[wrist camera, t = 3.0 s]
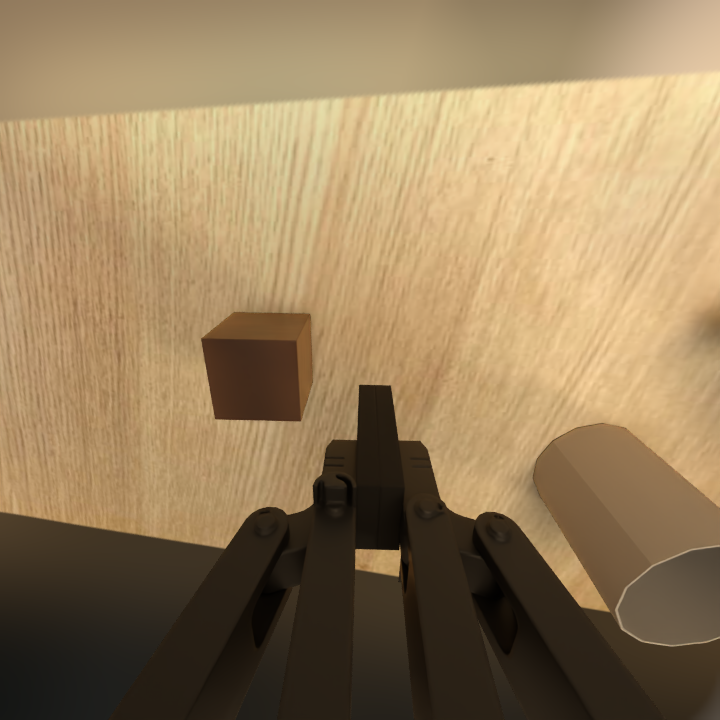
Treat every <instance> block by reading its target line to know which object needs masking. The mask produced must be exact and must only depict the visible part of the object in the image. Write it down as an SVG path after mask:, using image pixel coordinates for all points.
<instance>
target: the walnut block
mask: <svg viewBox="0 0 720 720" xmlns="http://www.w3.org/2000/svg"><path fill="white" fill-rule="evenodd" d="M201 341H202V347H203V352H204V358H205V364H206V369H207V375H208V381H209V386H210V392H211V398H212V404H213V409H214V415H215V419H224V420H266V421H301V420H302V416H303V413H304V410H305V406H306V403H307V400H308V396H309V393H310V390H311V386H312V383H313V371H312V345H311V320H310V314H289V313H245V312H234V313H233V314H231V315H230V316H229V317H228V318H226V319H225V320H224V321H223V322H221V323H220V324H219V325H218V326H216V327H215V328H214V329H213V330H211V331H210V332H209V333H208V334H206V335H205V336H204V337H203V338H201Z"/></svg>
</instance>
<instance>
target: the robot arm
mask: <svg viewBox="0 0 720 720" xmlns="http://www.w3.org/2000/svg"><path fill="white" fill-rule="evenodd" d="M313 499H314V504H313V505H312V506H310V507H309V508H307V509H306V510H304V511H301V512H298V513H294V514H290V515H287V514H286V513H285V512H284V511H283V510H281V509H279V508H276V507H266V508H262V509H259V510H257V511H255V512H253V513H252V514H251V515H250V516H249V517H248V518H247V519H246V520H245V521H244V523H243V524H242V526H241V527H240V529H239V530H238V532H237V533H236V535H235V536H234V537H233V539H232V540H231V542H230V543H229V545H228V546H227V548H226V549H225V551H224V552H223V554H222V555H221V556H220V558H219V559H218V561H217V562H216V564H215V565H214V567H213V568H212V569H211V571H210V573H209V574H208V575H207V577H206V578H205V580H204V581H203V583H202V584H201V586H200V587H199V588H198V590H197V591H196V593H195V594H194V596H193V597H192V599H191V600H190V602H189V603H188V605H187V606H186V607H185V609H184V610H183V612H182V613H181V615H180V616H179V618H178V619H177V620H176V622H175V623H174V625H173V626H172V628H171V629H170V631H169V632H168V634H167V635H166V636H165V638H164V639H163V641H162V642H161V644H160V645H159V647H158V648H157V650H156V651H155V652H154V654H153V656H152V657H151V658H150V660H149V661H148V663H147V664H146V666H145V667H144V668H143V670H142V671H141V673H140V674H139V676H138V678H137V679H136V680H135V682H134V683H133V684H132V686H131V687H130V689H129V690H128V692H127V693H126V695H125V696H124V698H123V699H122V700H121V702H120V703H119V705H118V706H117V708H116V710H115V711H114V712H113V714H112V715H111V717H110V718H109V719H108V720H235V718H236V716H237V714H238V711H239V709H240V707H241V705H242V702H243V700H244V698H245V695H246V693H247V691H248V689H249V686H250V684H251V681H252V679H253V677H254V675H255V673H256V670H257V668H258V666H259V664H260V661H261V659H262V657H263V654H264V652H265V650H266V648H267V645H268V643H269V641H270V638H271V636H272V634H273V631H274V629H275V627H276V625H277V622H278V620H279V618H280V616H281V613H282V611H283V609H284V606H285V604H286V602H287V600H288V597H289V595H290V593H291V591H292V587H293V586H297V585H300V590H299V596H298V601H297V607H296V613H295V618H294V624H293V630H292V636H291V642H290V647H289V653H288V659H287V665H286V671H285V676H284V682H283V688H282V694H281V700H280V706H279V711H278V717H277V720H351V691H352V653H353V618H354V584H355V581H354V580H355V549H377V550H399V547H400V549H401V561H400V571H399V582H402V593H403V604H404V615H405V626H406V637H407V647H408V658H409V669H410V680H411V691H412V701H413V712H414V720H505V719H504V715H503V712H502V708H501V704H500V701H499V697H498V693H497V689H496V686H495V682H494V678H493V675H492V671H491V668H490V664H489V660H488V656H487V652H486V649H485V645H484V641H483V637H482V634H481V630H480V626H479V623H480V625H481V627H482V629H483V631H484V633H485V635H486V637H487V639H488V641H489V643H490V645H491V647H492V649H493V651H494V653H495V655H496V657H497V659H498V661H499V663H500V665H501V667H502V669H503V671H504V673H505V675H506V677H507V679H508V681H509V684H510V685H511V687H512V690H513V692H514V694H515V696H516V698H517V700H518V702H519V704H520V706H521V708H522V710H523V712H524V714H525V716H526V718H527V720H666V719H665V717H664V716H663V715H662V713H661V712H660V711H659V709H658V708H657V707H656V705H655V704H654V703H653V701H652V700H651V699H650V698H649V696H648V695H647V694H646V693H645V691H644V690H643V688H642V687H641V686H640V685H639V683H638V682H637V681H636V679H635V678H634V677H633V675H632V674H631V673H630V671H629V670H628V669H627V668H626V666H625V665H624V664H623V662H622V661H621V660H620V658H619V657H618V656H617V655H616V653H615V652H614V651H613V649H612V648H611V647H610V645H609V644H608V643H607V641H606V640H605V639H604V637H603V636H602V635H601V634H600V632H599V631H598V630H597V628H596V627H595V626H594V624H593V623H592V622H591V620H590V619H589V618H588V617H587V615H586V614H585V613H584V611H583V610H582V609H581V607H580V606H579V605H578V603H577V602H576V601H575V599H574V598H573V597H572V596H571V594H570V593H569V592H568V590H567V589H566V588H565V586H564V585H563V584H562V582H561V581H560V580H559V578H558V577H557V576H556V575H555V573H554V572H553V571H552V569H551V568H550V567H549V565H548V564H547V563H546V561H545V560H544V559H543V558H542V556H541V555H540V554H539V552H538V551H537V550H536V548H535V547H534V546H533V544H532V543H531V542H530V541H529V539H528V538H527V537H526V535H525V534H524V533H523V531H522V530H521V529H520V527H519V526H518V525H517V524H516V523H515V522H514V521H513V520H512V519H510V518H508V517H507V516H505V515H503V514H499V513H496V512H485V513H483V514H480V515H479V516H478V517H477V519H476V520H474V519H470V518H467V517H463V516H461V515H458V514H456V513H454V512H452V511H451V510H449V509H448V508H447V507H446V505H445V503H444V502H443V501H442V500H441V499H440V496H439V493H438V489H437V485H436V481H435V477H434V473H433V469H432V465H431V461H430V457H429V453H428V450H427V448H426V447H425V446H424V445H423V444H422V443H421V441H398V434H397V426H396V419H395V412H394V405H393V398H392V391H391V386H385V385H359V406H358V431H357V440H332V441H331V443H330V444H329V445H328V446H327V448H326V453H325V459H324V466H323V471H322V475H321V476H319V477H318V478H317V479H316V480H315V482H314V485H313ZM478 620H479V623H478Z"/></svg>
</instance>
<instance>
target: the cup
mask: <svg viewBox="0 0 720 720" xmlns="http://www.w3.org/2000/svg"><path fill="white" fill-rule="evenodd" d="M533 479H534V482H535V485H536V487H537V490H538V493H539V495H540V496H541V498H542V500H543V501H544V503H545V505H546V506H547V508H548V509H549V511H550V513H551V514H552V516H553V518H554V519H555V521H556V523H557V524H558V526H559V528H560V529H561V531H562V533H563V534H564V536H565V538H566V539H567V541H568V542H569V544H570V546H571V547H572V549H573V551H574V552H575V554H576V556H577V557H578V559H579V561H580V562H581V564H582V566H583V567H584V569H585V570H586V572H587V574H588V575H589V577H590V579H591V580H592V582H593V584H594V585H595V587H596V589H597V590H598V592H599V594H600V595H601V597H602V598H603V600H604V602H605V603H606V605H607V607H608V608H609V610H610V612H611V613H612V615H613V617H614V618H615V620H616V621H617V623H618V625H619V627H620V628H621V629H622V630H623V631H625V632H626V633H628V634H630V635H631V636H633V637H634V638H636V639H637V640H639V641H641V642H646V643H652V644H658V645H665V646H680V645H688V644H698V643H705V642H709V641H712V640H715V639H718V638H720V508H719V507H718V506H717V505H716V504H714V503H713V502H712V501H711V500H710V499H709V498H707V497H706V496H705V495H704V494H703V493H701V492H700V491H699V490H698V489H697V488H696V487H694V486H693V485H692V484H691V483H690V482H688V481H687V480H686V479H685V478H684V477H683V476H681V475H680V474H679V473H678V472H677V471H675V470H674V469H673V468H672V467H671V466H670V465H668V464H667V463H666V462H665V461H664V460H663V459H661V458H660V457H659V456H658V455H657V454H655V453H654V452H653V451H652V450H651V449H650V448H648V447H647V446H646V445H645V444H644V443H642V442H641V441H640V440H639V439H638V438H637V437H635V436H634V435H633V434H632V433H631V432H629V431H628V430H627V429H626V428H622V427H617V426H612V425H607V424H597V425H591V426H586V427H580V428H575V429H574V430H572V431H570V432H568V433H566V434H565V435H563V436H561V437H559V438H557V439H556V440H554V441H552V443H551V444H550V445H549V446H548V447H547V448H546V450H545V451H544V452H543V453H542V454H541V455H540V457H539V458H538V459H537V463H536V467H535V471H534V475H533Z"/></svg>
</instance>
